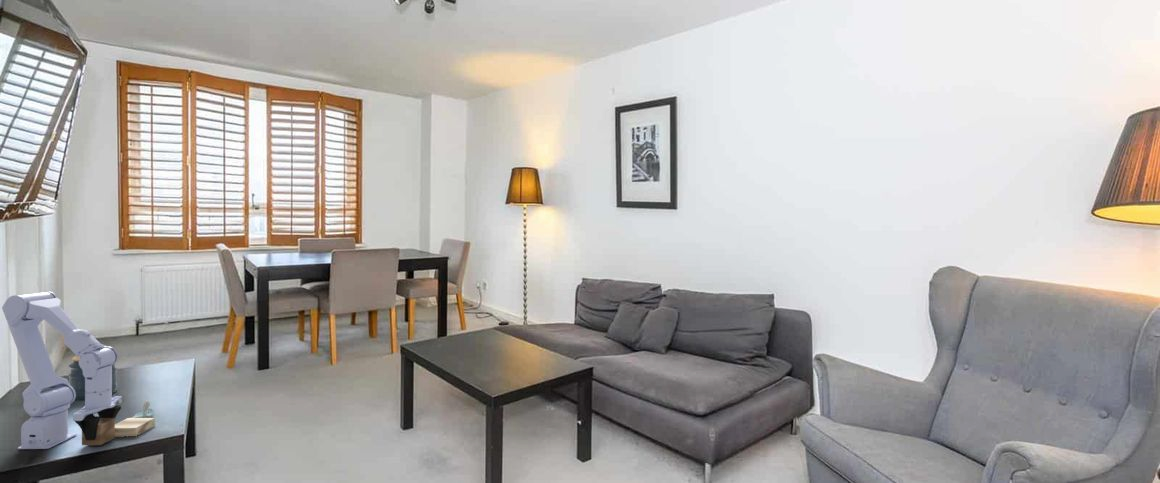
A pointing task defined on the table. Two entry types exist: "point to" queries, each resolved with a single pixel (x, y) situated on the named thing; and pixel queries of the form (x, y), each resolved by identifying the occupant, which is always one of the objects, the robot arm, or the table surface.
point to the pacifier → (145, 411)
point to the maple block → (133, 426)
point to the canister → (79, 380)
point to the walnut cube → (102, 432)
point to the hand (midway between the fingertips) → (98, 435)
